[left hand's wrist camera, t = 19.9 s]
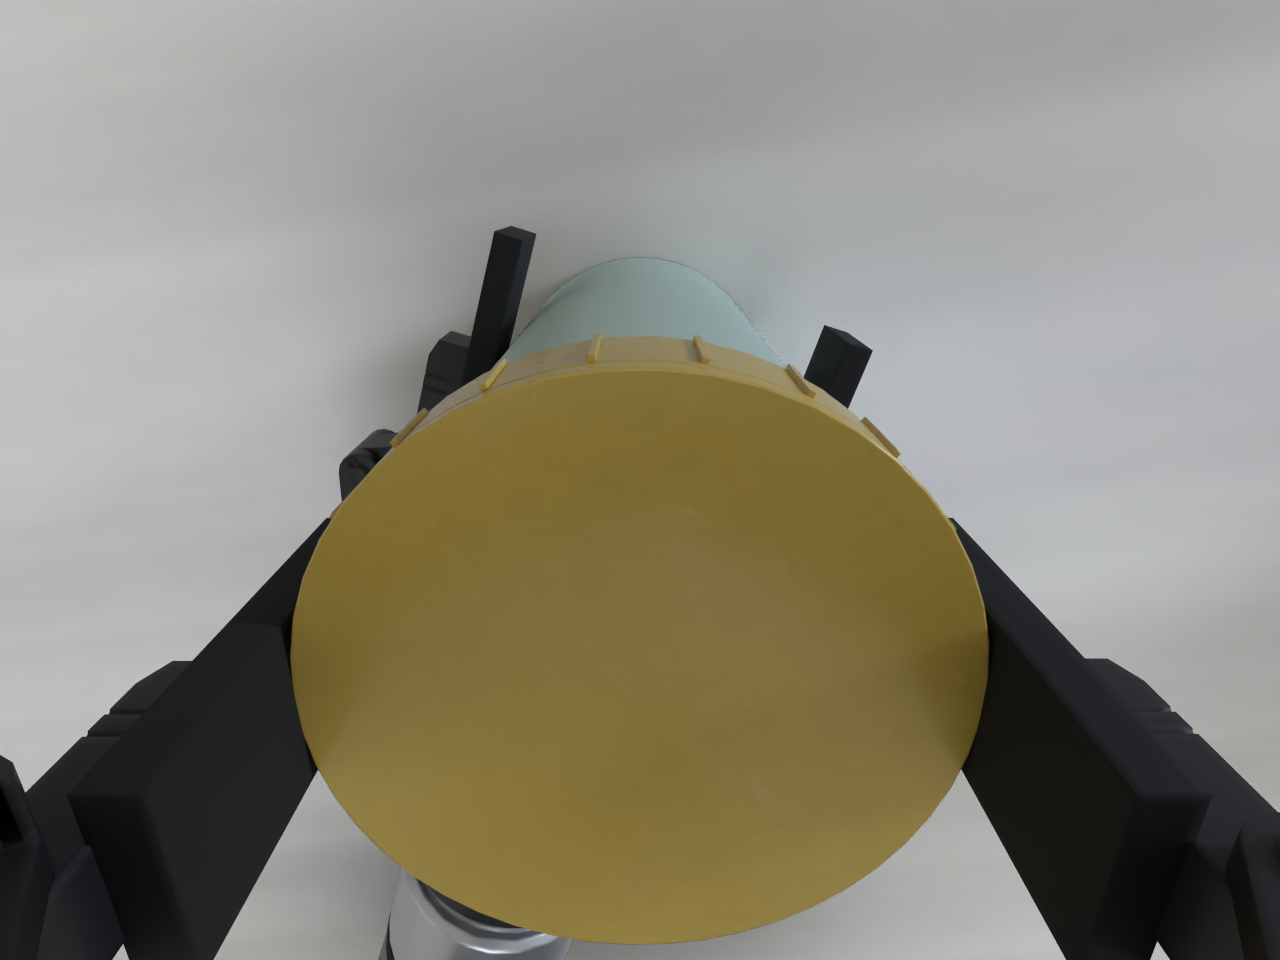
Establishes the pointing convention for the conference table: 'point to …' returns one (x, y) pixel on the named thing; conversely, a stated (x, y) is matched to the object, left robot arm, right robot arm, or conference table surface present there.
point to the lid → (639, 644)
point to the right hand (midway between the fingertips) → (686, 286)
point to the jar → (640, 309)
